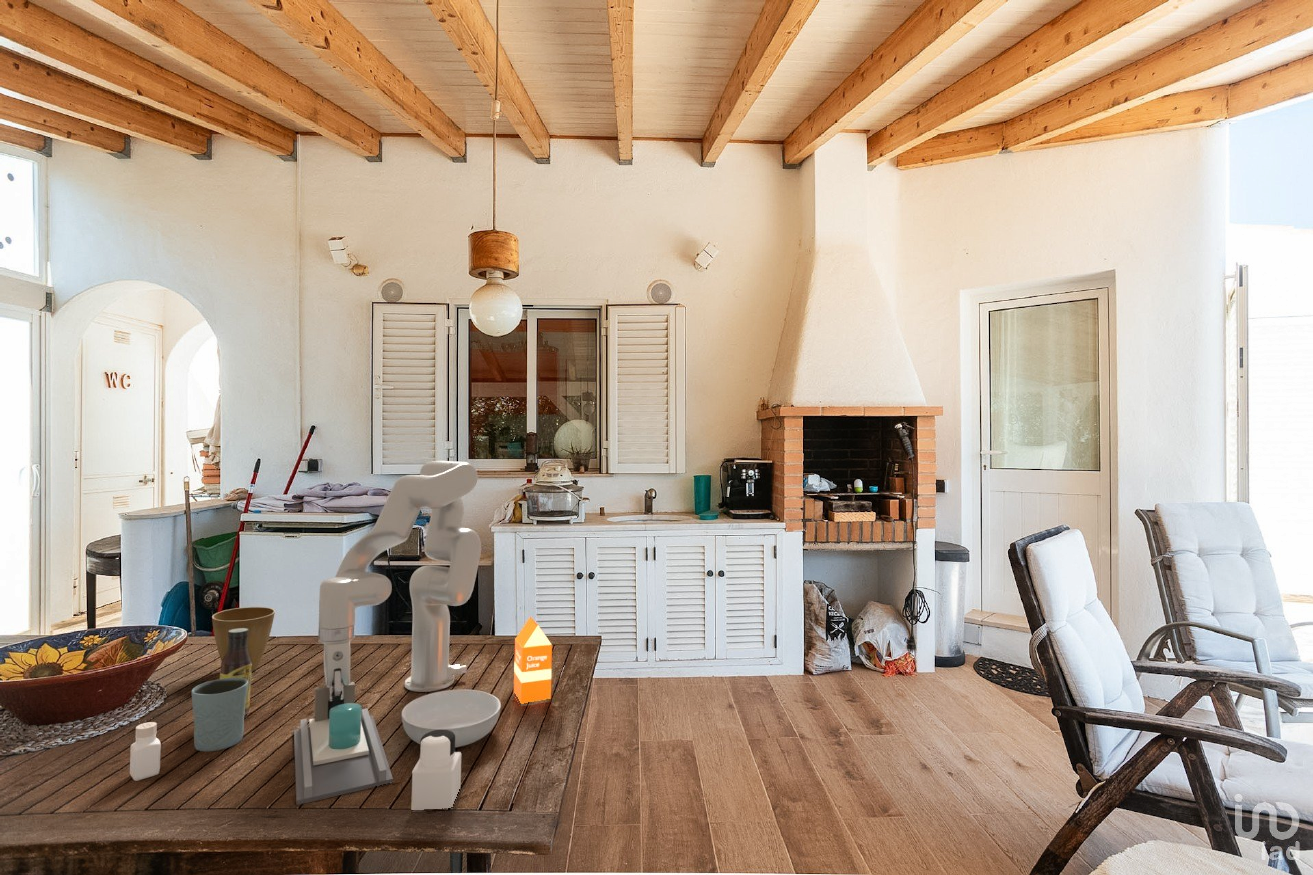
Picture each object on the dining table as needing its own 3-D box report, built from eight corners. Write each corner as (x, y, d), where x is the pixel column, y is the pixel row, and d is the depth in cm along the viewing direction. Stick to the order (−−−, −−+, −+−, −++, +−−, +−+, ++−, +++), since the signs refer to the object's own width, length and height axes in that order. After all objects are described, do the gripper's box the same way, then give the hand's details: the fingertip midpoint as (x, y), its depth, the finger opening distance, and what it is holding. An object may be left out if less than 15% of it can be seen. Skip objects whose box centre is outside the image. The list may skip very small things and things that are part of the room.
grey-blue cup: (202, 757, 129) (204, 698, 130) (180, 744, 135) (182, 687, 135) (255, 738, 138) (257, 683, 138) (232, 727, 143) (234, 673, 144)
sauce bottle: (233, 722, 146) (236, 635, 146) (210, 719, 147) (213, 633, 147) (256, 711, 152) (259, 627, 152) (234, 708, 153) (237, 625, 154)
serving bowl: (406, 770, 126) (407, 735, 127) (396, 727, 145) (396, 697, 145) (510, 749, 136) (511, 716, 136) (488, 711, 155) (489, 683, 155)
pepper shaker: (154, 767, 125) (156, 719, 125) (160, 774, 123) (162, 724, 123) (128, 775, 122) (130, 725, 122) (134, 782, 119) (135, 731, 120)
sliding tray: (357, 714, 149) (358, 680, 149) (368, 754, 130) (369, 715, 130) (309, 722, 144) (310, 688, 144) (313, 765, 125) (314, 725, 125)
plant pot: (199, 681, 170) (201, 621, 170) (223, 662, 184) (225, 607, 185) (262, 677, 173) (264, 618, 174) (280, 659, 188) (282, 605, 188)
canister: (358, 733, 138) (359, 701, 138) (361, 745, 132) (362, 711, 132) (327, 739, 134) (328, 706, 135) (329, 751, 129) (330, 716, 129)
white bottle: (421, 790, 119) (423, 725, 119) (460, 789, 120) (462, 725, 120) (410, 812, 112) (412, 743, 112) (451, 811, 113) (453, 742, 113)
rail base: (372, 719, 149) (373, 707, 149) (392, 782, 121) (393, 767, 121) (294, 733, 141) (294, 720, 141) (296, 804, 113) (296, 789, 113)
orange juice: (520, 707, 158) (522, 626, 158) (513, 694, 166) (515, 617, 166) (551, 702, 161) (553, 623, 161) (542, 690, 169) (544, 614, 169)
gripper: (358, 640, 141) (356, 722, 140) (351, 621, 156) (349, 695, 155) (320, 645, 137) (317, 729, 137) (316, 625, 152) (314, 701, 151)
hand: (334, 710), depth 146 cm, fingers open, 6 cm apart
